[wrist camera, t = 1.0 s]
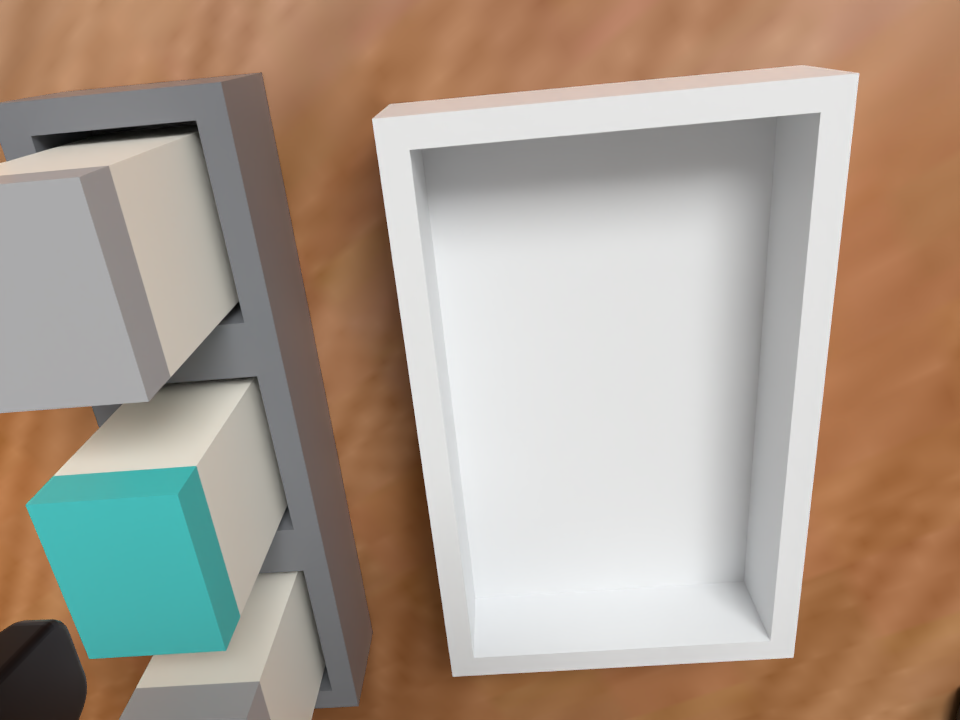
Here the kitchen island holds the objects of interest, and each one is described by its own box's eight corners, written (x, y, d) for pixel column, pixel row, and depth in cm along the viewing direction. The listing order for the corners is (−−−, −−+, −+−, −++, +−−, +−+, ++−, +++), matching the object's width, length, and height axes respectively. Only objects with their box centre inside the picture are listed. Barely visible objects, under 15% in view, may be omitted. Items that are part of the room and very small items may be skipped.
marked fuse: (301, 469, 22) (226, 651, 16) (203, 476, 22) (89, 658, 16) (274, 347, 21) (177, 494, 14) (168, 356, 21) (25, 504, 14)
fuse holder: (372, 632, 25) (358, 706, 23) (229, 640, 26) (198, 714, 23) (261, 72, 18) (221, 81, 15) (62, 92, 18) (-13, 104, 16)
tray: (759, 586, 24) (793, 657, 22) (456, 605, 25) (452, 676, 22) (802, 64, 18) (859, 73, 15) (389, 104, 18) (372, 119, 16)
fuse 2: (336, 622, 25) (282, 832, 18) (247, 628, 25) (163, 837, 18) (314, 524, 23) (246, 717, 17) (219, 531, 23) (116, 724, 17)
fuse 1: (259, 278, 20) (149, 401, 13) (148, 287, 20) (-13, 413, 14) (224, 121, 18) (78, 176, 12) (104, 133, 18) (-104, 193, 12)
